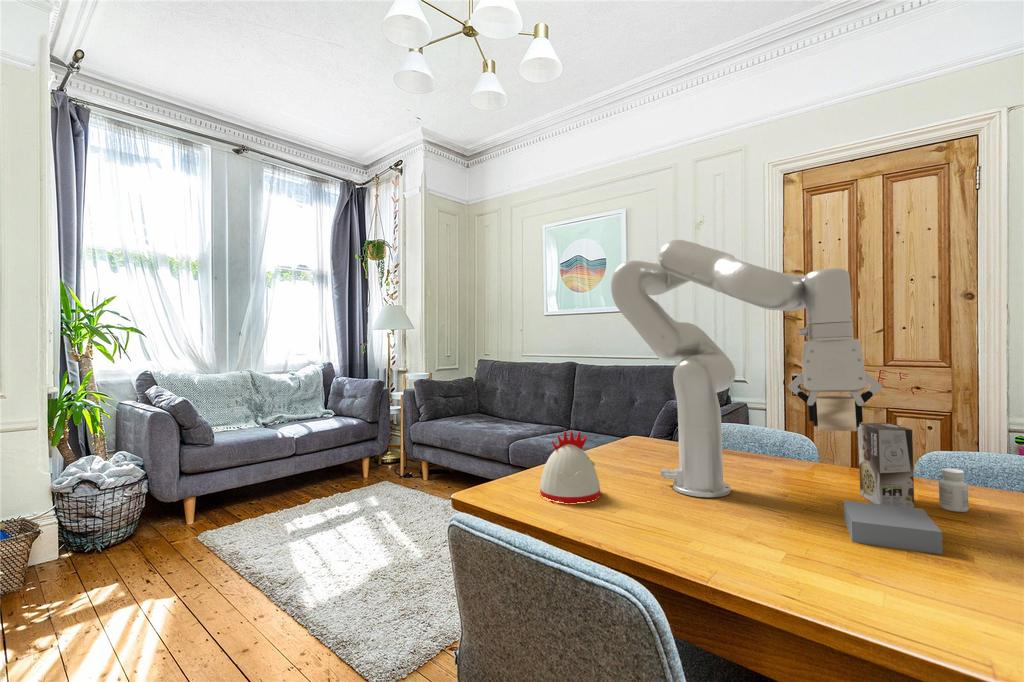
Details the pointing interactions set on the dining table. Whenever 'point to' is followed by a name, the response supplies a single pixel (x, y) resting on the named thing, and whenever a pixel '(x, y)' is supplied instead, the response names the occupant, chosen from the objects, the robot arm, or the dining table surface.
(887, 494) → the coffee box
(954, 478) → the pill bottle
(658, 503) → the dining table surface
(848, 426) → the oak cube
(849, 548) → the dining table surface
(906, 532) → the charcoal block
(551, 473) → the white red dome
